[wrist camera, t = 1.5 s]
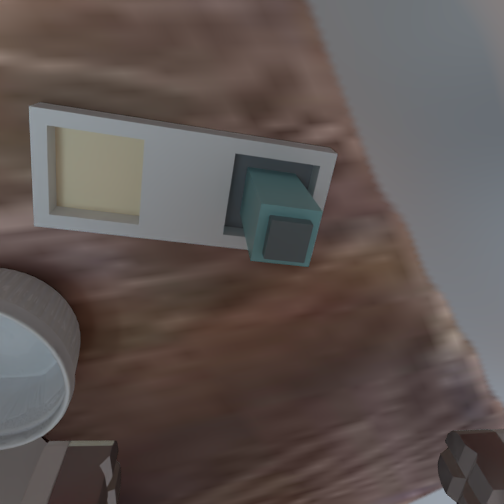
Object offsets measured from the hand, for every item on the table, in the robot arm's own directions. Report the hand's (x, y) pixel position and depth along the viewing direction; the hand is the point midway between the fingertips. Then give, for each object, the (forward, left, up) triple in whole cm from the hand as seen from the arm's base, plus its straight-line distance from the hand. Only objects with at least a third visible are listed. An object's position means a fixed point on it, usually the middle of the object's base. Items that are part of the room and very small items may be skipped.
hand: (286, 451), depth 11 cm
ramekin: (-15, +16, -24) cm, 32 cm away
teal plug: (-1, -3, -23) cm, 24 cm away
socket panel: (-1, +3, -24) cm, 24 cm away
